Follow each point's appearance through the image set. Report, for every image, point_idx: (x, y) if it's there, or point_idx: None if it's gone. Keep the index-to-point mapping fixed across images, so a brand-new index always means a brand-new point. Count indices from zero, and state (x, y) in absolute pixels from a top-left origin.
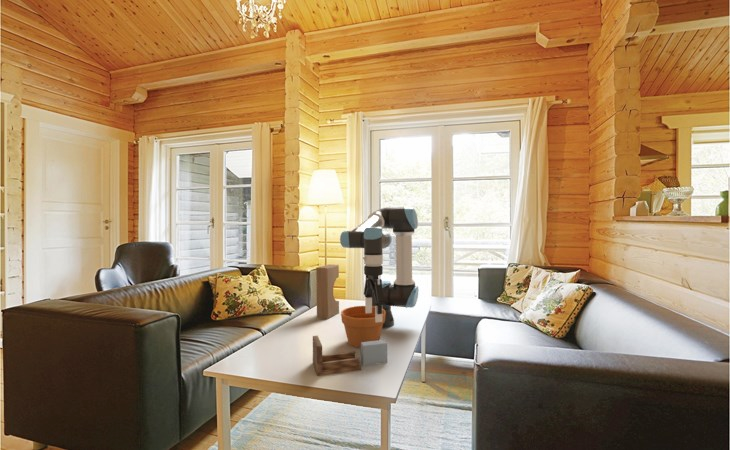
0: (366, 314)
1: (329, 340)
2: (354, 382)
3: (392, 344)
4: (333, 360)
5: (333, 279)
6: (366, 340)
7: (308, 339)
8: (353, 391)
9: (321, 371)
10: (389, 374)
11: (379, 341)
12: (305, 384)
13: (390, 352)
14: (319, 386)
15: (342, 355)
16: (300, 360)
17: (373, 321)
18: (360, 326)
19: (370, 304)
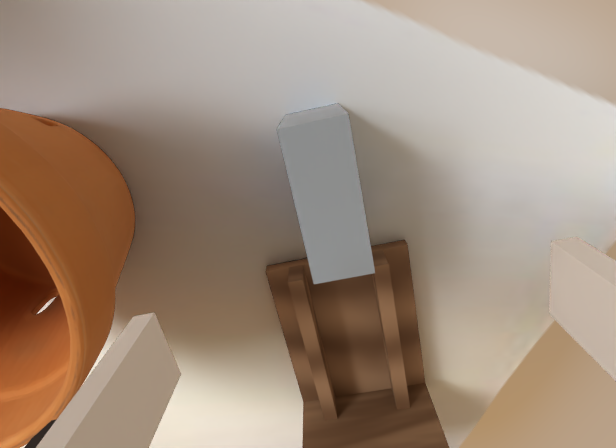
0: None
1: None
2: (513, 270)
3: (56, 24)
4: (324, 352)
5: None
6: (123, 212)
7: None
8: None
9: (427, 389)
10: (481, 112)
11: (310, 166)
12: (479, 416)
13: (195, 60)
14: (507, 379)
15: (316, 330)
16: (280, 444)
17: (59, 217)
18: (113, 301)
19: (108, 419)
